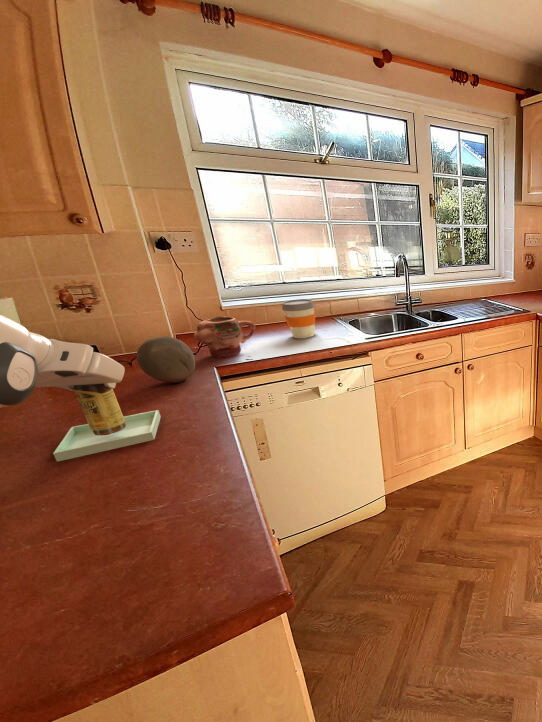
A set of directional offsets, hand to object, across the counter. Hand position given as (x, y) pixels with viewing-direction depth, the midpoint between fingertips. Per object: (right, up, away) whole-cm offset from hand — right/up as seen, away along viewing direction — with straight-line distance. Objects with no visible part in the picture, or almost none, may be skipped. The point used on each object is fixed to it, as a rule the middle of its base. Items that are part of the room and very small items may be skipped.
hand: (95, 386), depth 98 cm
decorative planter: (-12, +12, +67) cm, 69 cm away
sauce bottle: (0, -11, +4) cm, 12 cm away
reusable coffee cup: (+4, +22, +90) cm, 93 cm away
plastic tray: (0, -12, +4) cm, 13 cm away
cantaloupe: (-12, +1, +38) cm, 40 cm away
